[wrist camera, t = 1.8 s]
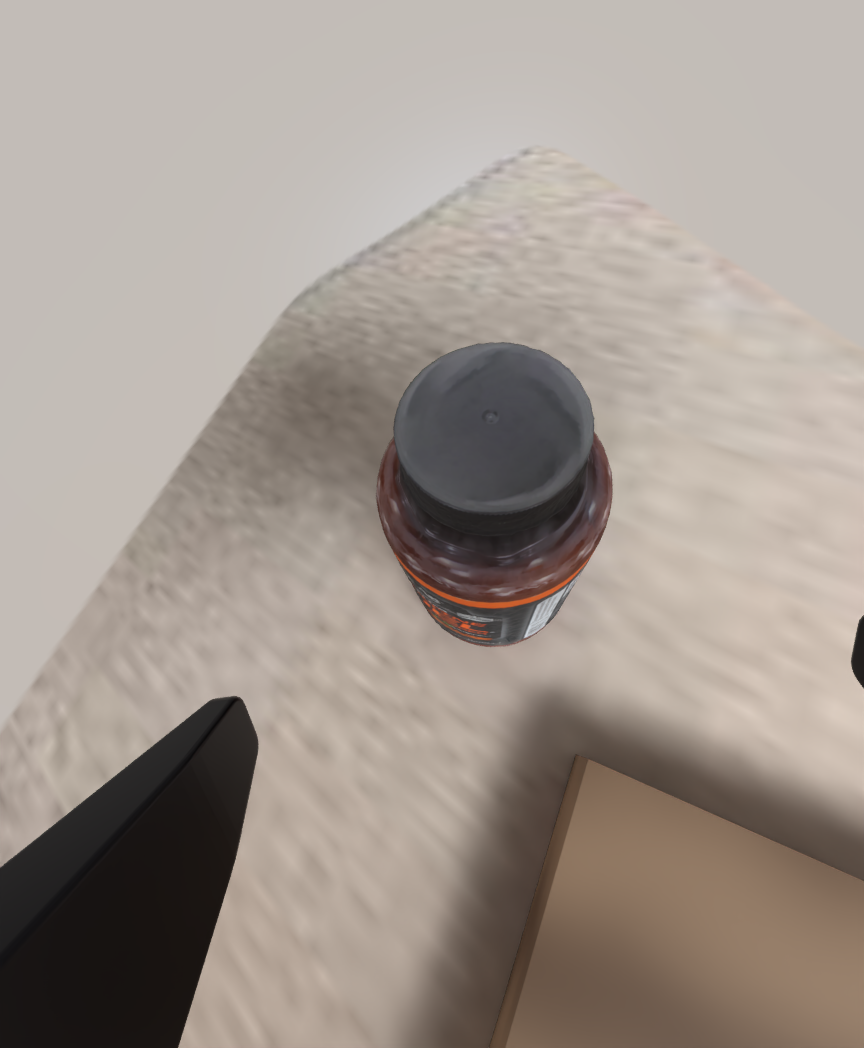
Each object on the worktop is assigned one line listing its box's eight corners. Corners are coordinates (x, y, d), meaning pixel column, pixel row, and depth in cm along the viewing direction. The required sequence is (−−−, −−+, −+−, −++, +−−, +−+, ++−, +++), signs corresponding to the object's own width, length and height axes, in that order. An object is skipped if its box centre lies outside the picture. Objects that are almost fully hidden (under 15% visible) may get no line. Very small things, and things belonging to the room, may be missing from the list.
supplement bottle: (390, 598, 20) (280, 463, 10) (468, 486, 22) (444, 265, 11) (518, 682, 18) (549, 626, 8) (593, 553, 20) (701, 365, 10)
